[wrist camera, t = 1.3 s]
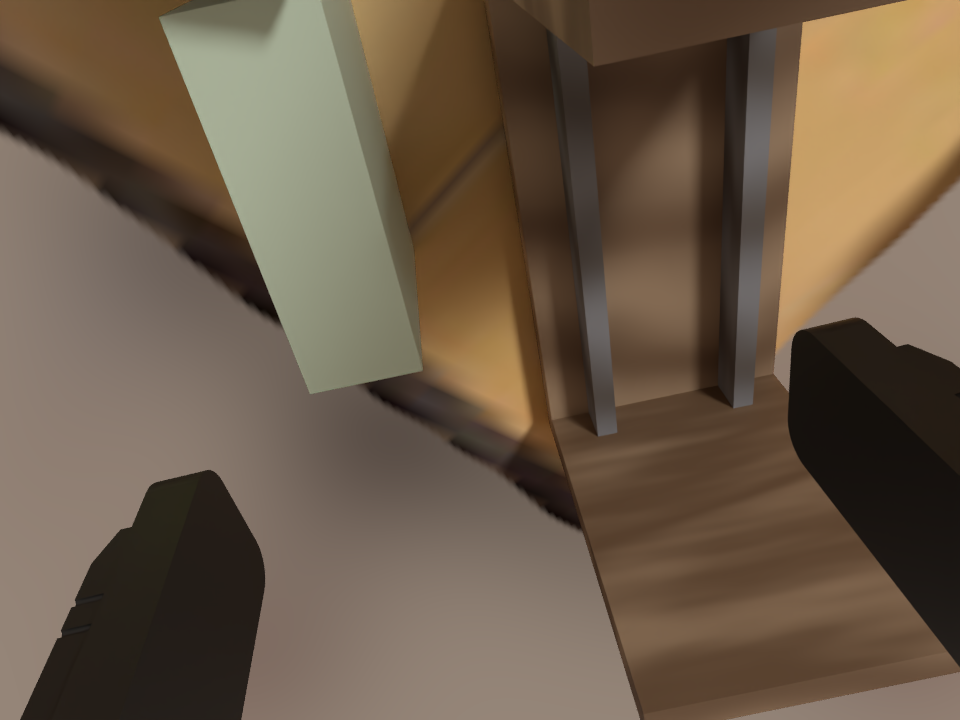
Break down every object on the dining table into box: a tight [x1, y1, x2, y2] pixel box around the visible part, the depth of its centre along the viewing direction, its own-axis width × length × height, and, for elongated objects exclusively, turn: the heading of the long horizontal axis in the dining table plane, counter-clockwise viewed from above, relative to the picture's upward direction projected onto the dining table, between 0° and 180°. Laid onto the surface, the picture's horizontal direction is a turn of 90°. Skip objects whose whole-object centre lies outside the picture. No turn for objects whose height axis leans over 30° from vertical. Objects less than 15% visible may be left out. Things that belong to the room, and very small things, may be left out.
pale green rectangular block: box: [159, 0, 423, 394], centre depth 25 cm, size 12×4×10 cm, turn 10°
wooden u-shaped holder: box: [484, 0, 960, 720], centre depth 25 cm, size 24×12×18 cm, turn 10°
